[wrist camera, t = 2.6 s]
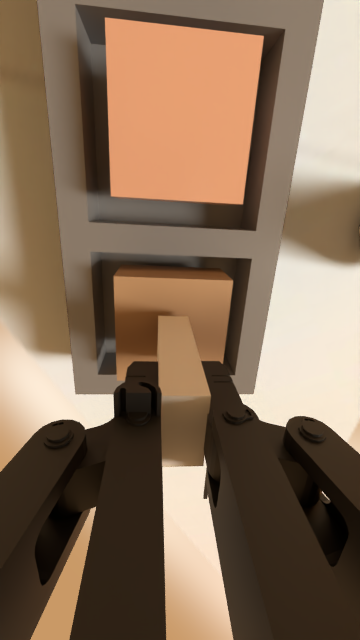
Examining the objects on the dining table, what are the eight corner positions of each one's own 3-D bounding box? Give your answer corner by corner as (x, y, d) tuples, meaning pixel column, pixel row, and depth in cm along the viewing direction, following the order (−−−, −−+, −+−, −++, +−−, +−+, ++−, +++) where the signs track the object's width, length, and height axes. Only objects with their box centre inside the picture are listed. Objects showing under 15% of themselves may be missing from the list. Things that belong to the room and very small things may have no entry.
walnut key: (121, 264, 17) (113, 276, 14) (220, 268, 17) (233, 280, 14) (123, 353, 19) (116, 380, 16) (211, 354, 19) (220, 380, 16)
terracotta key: (116, 60, 13) (105, 17, 10) (240, 73, 14) (263, 36, 11) (119, 198, 15) (110, 196, 12) (226, 205, 16) (242, 204, 13)
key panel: (50, -256, 12) (-17, -544, 7) (314, -203, 13) (400, -427, 9) (92, 356, 23) (75, 394, 18) (234, 358, 24) (253, 394, 19)
